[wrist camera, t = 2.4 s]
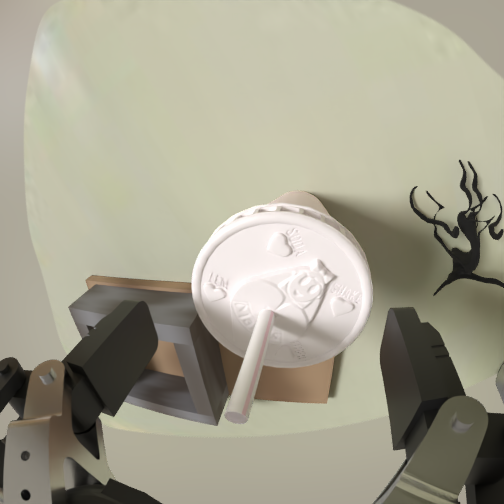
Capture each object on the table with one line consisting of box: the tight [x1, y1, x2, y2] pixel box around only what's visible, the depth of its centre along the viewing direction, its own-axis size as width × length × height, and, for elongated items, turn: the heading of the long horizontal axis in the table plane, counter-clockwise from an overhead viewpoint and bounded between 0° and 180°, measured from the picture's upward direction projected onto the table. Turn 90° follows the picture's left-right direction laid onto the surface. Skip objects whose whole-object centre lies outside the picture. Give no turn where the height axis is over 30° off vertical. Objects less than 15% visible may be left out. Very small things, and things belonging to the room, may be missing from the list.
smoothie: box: [192, 191, 373, 424], centre depth 12 cm, size 6×6×14 cm
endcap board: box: [69, 275, 335, 426], centre depth 22 cm, size 22×12×5 cm, turn 95°
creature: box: [410, 160, 504, 296], centre depth 13 cm, size 8×5×8 cm
